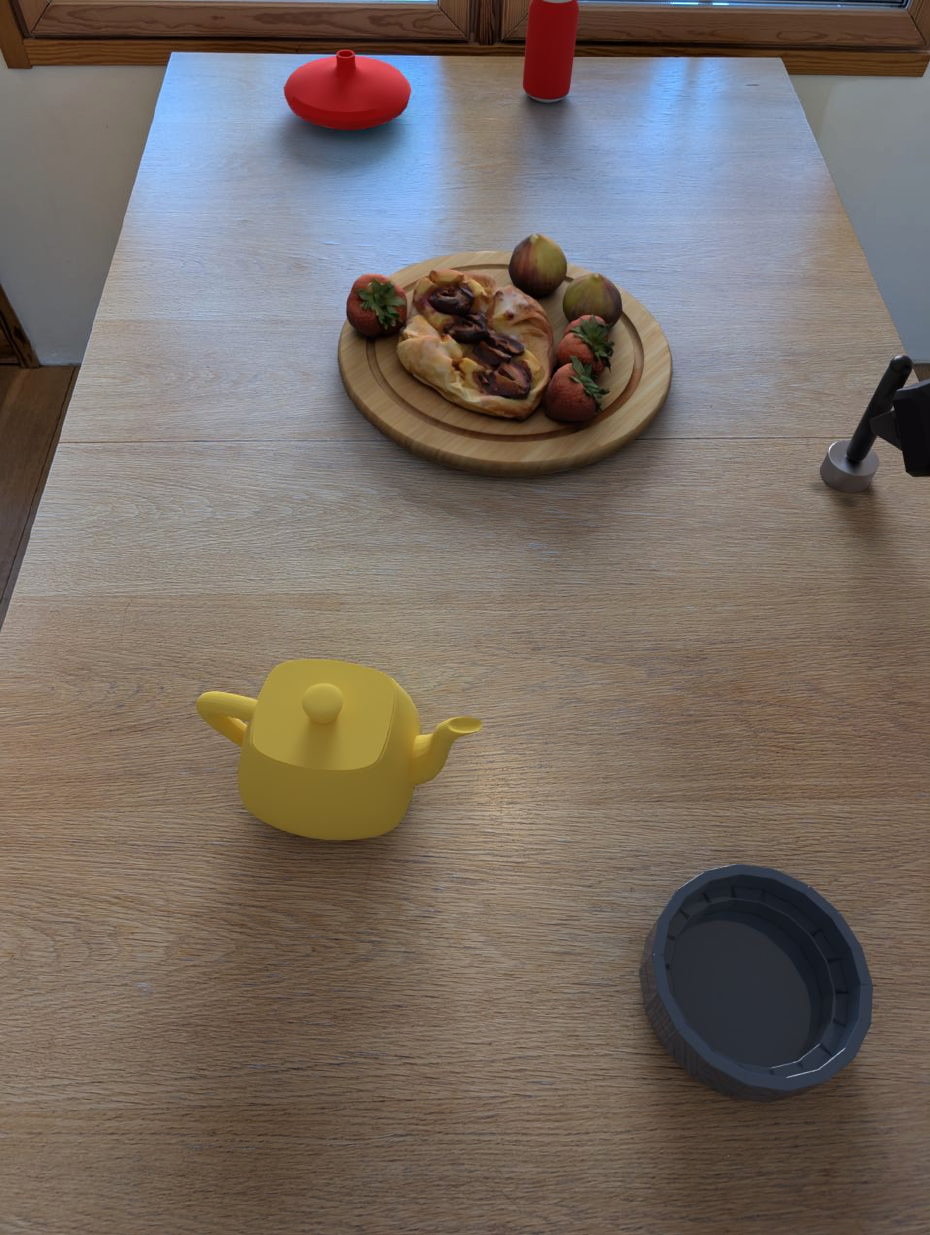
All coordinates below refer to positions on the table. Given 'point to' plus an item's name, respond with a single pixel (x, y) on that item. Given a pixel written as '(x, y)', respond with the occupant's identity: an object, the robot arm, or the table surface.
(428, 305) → the wooden plate
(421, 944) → the table surface
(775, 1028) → the bowl
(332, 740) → the teapot
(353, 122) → the red vase
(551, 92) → the beverage can
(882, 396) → the coffee tamper
